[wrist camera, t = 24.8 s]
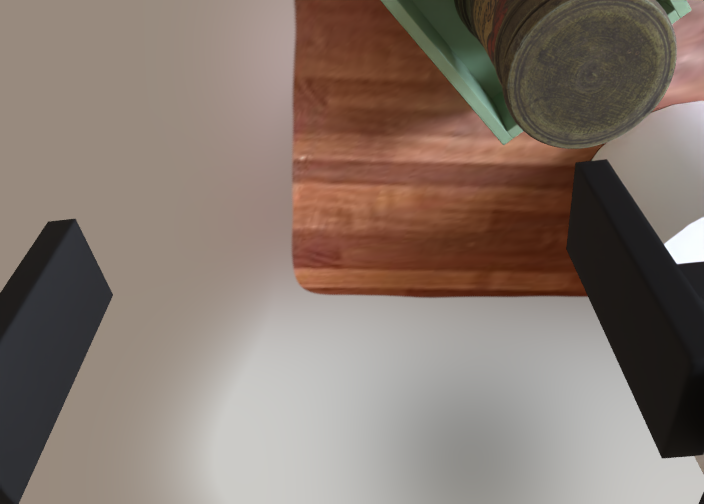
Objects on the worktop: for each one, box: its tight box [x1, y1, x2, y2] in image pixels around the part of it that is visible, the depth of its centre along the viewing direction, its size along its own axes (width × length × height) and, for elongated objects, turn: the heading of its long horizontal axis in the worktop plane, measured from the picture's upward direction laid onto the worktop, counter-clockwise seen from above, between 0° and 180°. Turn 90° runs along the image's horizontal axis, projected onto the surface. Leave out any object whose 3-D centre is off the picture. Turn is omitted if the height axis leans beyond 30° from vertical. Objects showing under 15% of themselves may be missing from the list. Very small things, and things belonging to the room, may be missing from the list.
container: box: [454, 0, 677, 149], centre depth 37 cm, size 9×9×18 cm
